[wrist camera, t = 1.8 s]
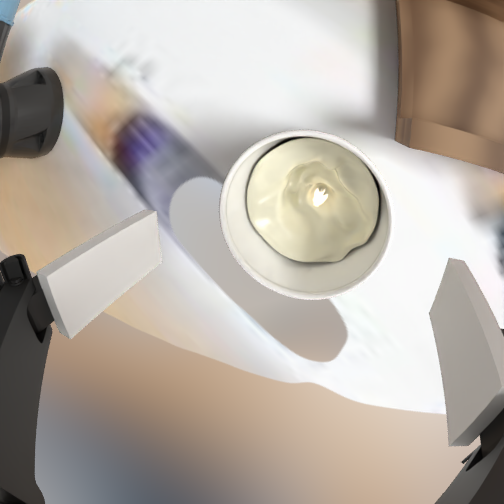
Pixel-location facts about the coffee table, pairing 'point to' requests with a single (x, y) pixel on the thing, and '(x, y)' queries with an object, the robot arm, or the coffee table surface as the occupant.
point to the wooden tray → (452, 79)
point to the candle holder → (306, 214)
